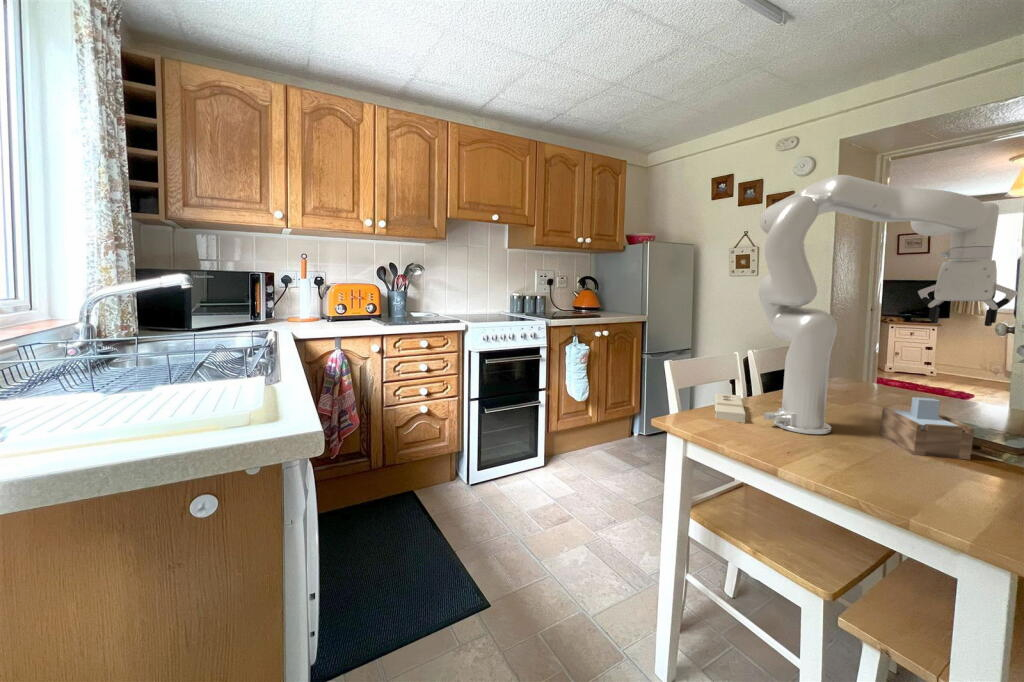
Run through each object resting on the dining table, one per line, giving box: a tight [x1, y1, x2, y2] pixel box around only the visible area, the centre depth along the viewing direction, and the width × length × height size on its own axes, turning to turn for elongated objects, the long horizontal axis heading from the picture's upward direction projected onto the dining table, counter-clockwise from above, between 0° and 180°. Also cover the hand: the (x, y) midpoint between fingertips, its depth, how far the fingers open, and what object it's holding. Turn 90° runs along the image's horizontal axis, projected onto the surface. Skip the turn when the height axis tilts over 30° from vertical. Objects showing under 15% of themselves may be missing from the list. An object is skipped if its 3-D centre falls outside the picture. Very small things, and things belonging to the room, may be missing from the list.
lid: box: [891, 396, 958, 430], centre depth 100 cm, size 12×7×6 cm, turn 164°
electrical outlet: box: [714, 393, 746, 424], centre depth 127 cm, size 7×4×18 cm
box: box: [879, 406, 975, 460], centre depth 100 cm, size 14×10×7 cm
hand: (960, 324), depth 108 cm, fingers open, 9 cm apart
